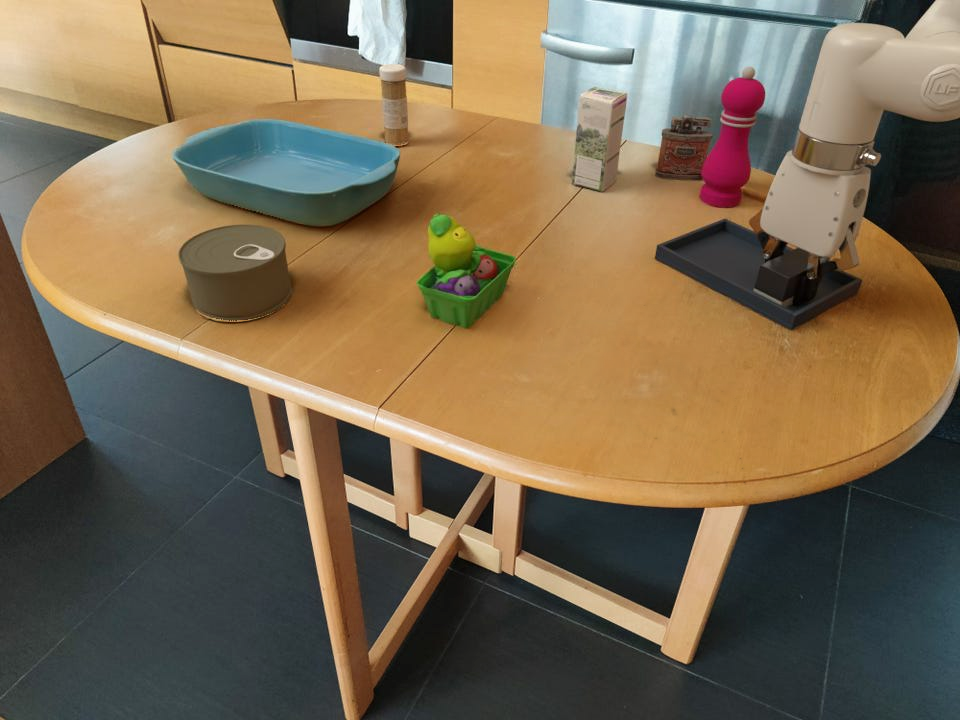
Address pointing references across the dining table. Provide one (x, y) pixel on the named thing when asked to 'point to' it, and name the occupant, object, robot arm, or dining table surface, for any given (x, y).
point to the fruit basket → (461, 274)
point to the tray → (747, 271)
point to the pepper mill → (732, 142)
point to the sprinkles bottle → (394, 103)
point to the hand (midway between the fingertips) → (785, 292)
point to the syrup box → (598, 138)
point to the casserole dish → (289, 169)
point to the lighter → (684, 149)
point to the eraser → (782, 276)
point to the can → (236, 271)
